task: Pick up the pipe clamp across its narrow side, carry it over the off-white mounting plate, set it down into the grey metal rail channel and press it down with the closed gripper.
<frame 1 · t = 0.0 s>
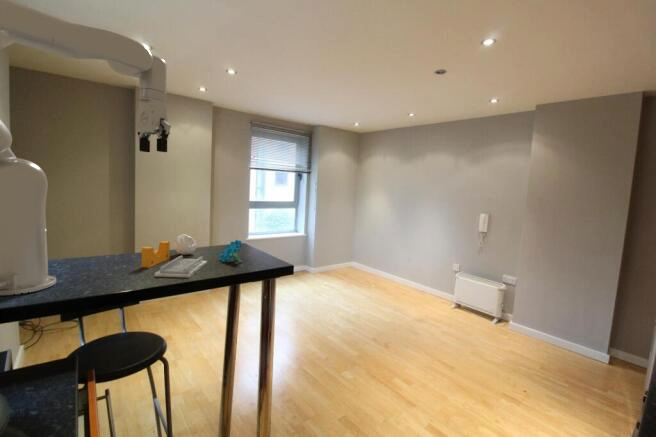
hand: (153, 151, 100), 37 cm above the table, tool pointing down, fingers open, 9 cm apart
pipe clamp: (153, 263, 104), on the table
blue lumpy piece: (230, 261, 112), on the table
rail plate: (183, 269, 98), on the table
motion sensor: (185, 254, 117), on the table
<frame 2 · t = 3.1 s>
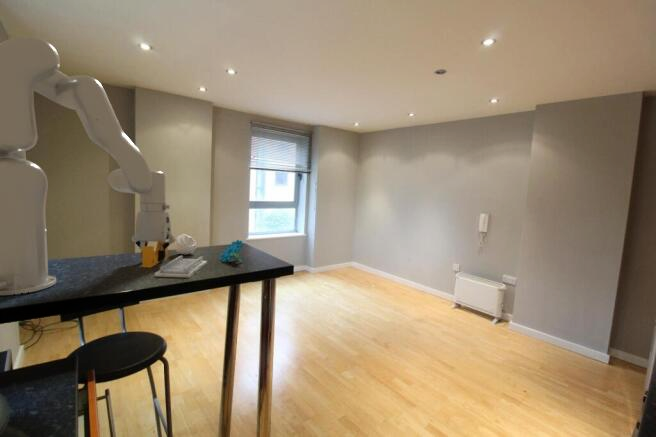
hand: (153, 260, 104), 1 cm above the table, tool pointing down, fingers closed on pipe clamp, 4 cm apart
pipe clamp: (152, 262, 104), on the table, touching gripper
everything else where it was.
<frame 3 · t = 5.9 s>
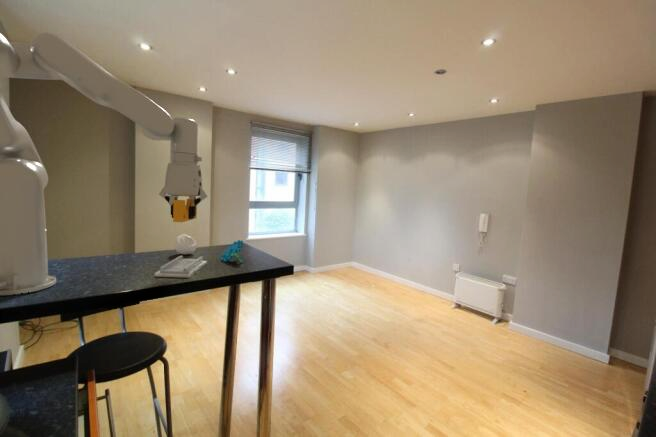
hand: (183, 217, 96), 17 cm above the table, tool pointing down, fingers closed on pipe clamp, 4 cm apart
pipe clamp: (182, 220, 96), point 16 cm above the table, touching gripper
everything else where it was.
when the fingers open (3 cm above the table, at t = 8.8 s): pipe clamp stays where it is, resting on rail plate.
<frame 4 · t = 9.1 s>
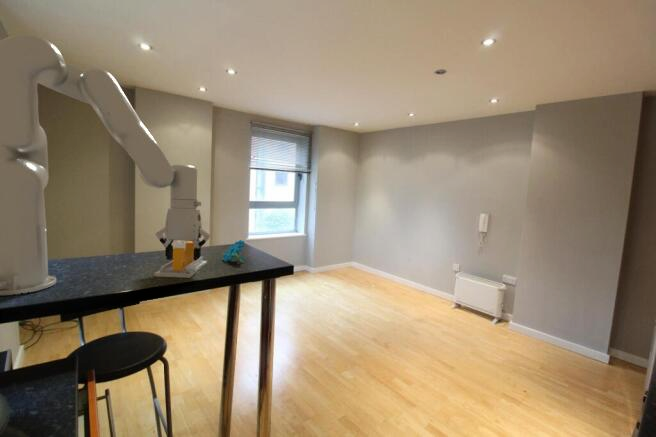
hand: (183, 258, 97), 4 cm above the table, tool pointing down, fingers open, 7 cm apart
pipe clamp: (182, 265, 97), point 1 cm above the table, touching rail plate
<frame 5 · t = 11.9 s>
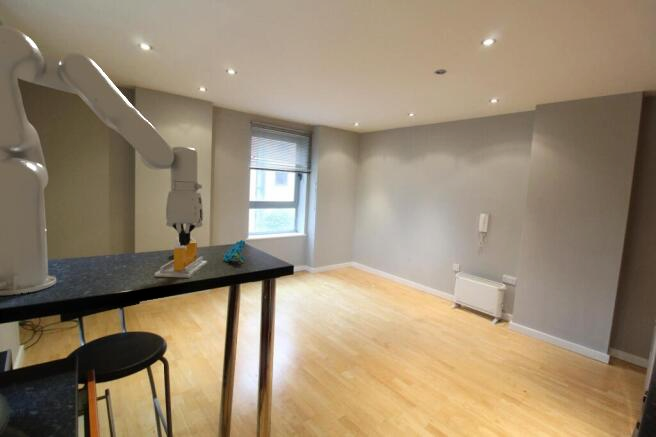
hand: (184, 244, 97), 8 cm above the table, tool pointing down, fingers closed
pipe clamp: (183, 265, 97), point 1 cm above the table, touching gripper, rail plate
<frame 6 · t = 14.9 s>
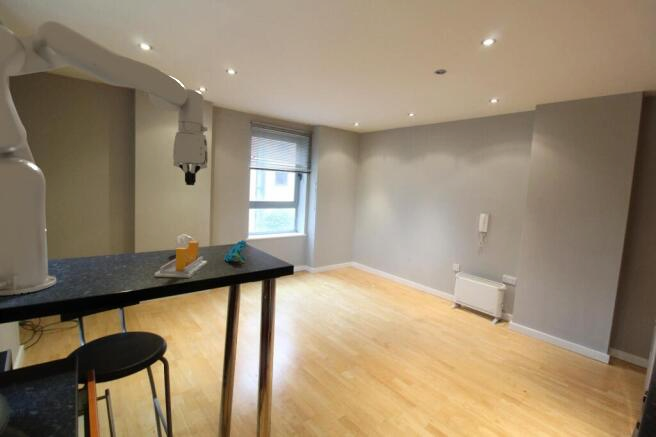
hand: (190, 184, 103), 27 cm above the table, tool pointing down, fingers closed
pipe clamp: (184, 265, 98), point 1 cm above the table, touching rail plate
at the end: pipe clamp inside the target area on the rail plate (0.5 cm from its centre), point 1.4 cm above the rail plate's base; pipe clamp tilted 0°; the gripper is holding nothing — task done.
